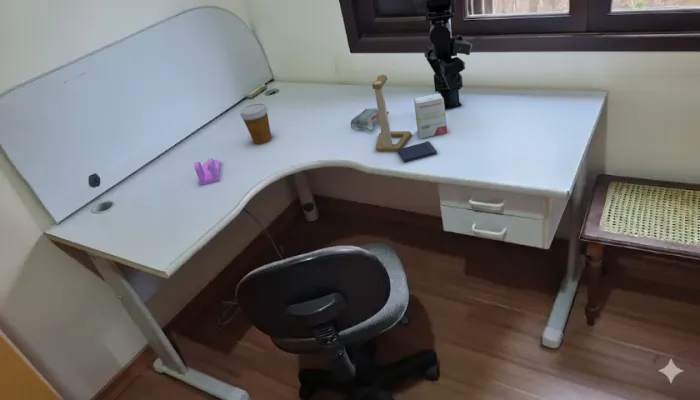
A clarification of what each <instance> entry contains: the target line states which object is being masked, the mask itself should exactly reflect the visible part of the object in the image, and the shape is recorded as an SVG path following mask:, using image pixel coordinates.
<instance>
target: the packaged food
mask: <svg viewBox="0 0 700 400" xmlns="http://www.w3.org/2000/svg"><path fill="white" fill-rule="evenodd" d="M389 114H390V112H389V110H387V116H389ZM378 124H380V122H379V115H378V108H377V107H375V108H365V109H364V110H362V112H360V113H359V114H357V115H356V116H354V117H353V118H352V119H351V121H350V130H351V129H352V130H353V129H354V128H355V129H360V130H368V131H372V130H373V129H374V128H375V127H376V126H377V125H378Z"/></svg>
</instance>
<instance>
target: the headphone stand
mask: <svg viewBox="0 0 700 400" xmlns="http://www.w3.org/2000/svg"><path fill="white" fill-rule="evenodd" d="M387 81H388V76H387V75H386V74H381V75H378V76H377V78H376V80H374V81H373V82H372V84H371V87H372V89H373V90H374V94H375V101H376V106H377V107H376V108H377V110H378V115H379V129H380V132H379V133H378V137H377V140H376V145H375V151H376V152H378V153H398V149H401V148H404V147H405V145H406V143H407V142H409V140H410V139H411V137H412V132H411V131H410V130H400V131H399V130H397V131H394V130H392V131H391V126H390V122H389V117H388V116H389V115H387V111H388V110H387V105H386V100H385V95H384V89H383V88H384V85H385V84H386V82H387ZM393 138H400V139H399V141H398V142H397V143H393Z"/></svg>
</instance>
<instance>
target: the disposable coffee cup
mask: <svg viewBox="0 0 700 400" xmlns="http://www.w3.org/2000/svg"><path fill="white" fill-rule="evenodd" d="M268 110H269V109H268V107H267V106H266V104H265V103H262V102H257V103H251V104H249V105H246V106H244V107H243V108H242V109H240V115H239V116H240V118H241V119H242V121H243V122H244V124H245V127H246V128H247V131H248V133H249V134H250V137H251V139H252V141H253V143H254V144H256V145H263V144H266V143H268V142H269V141H271V140H272V134H271V127H270V121H269V115H268Z"/></svg>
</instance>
